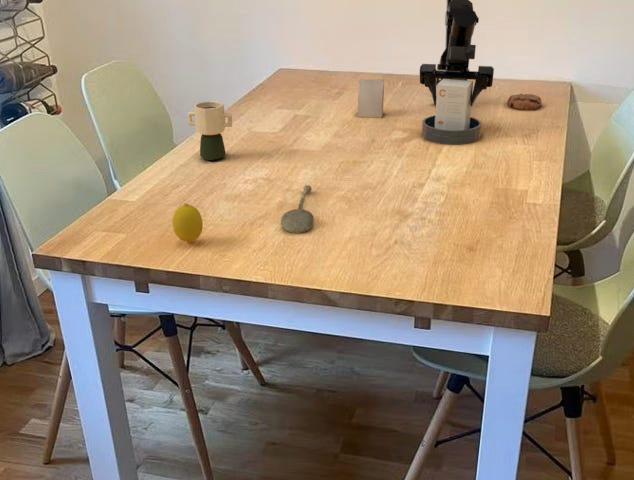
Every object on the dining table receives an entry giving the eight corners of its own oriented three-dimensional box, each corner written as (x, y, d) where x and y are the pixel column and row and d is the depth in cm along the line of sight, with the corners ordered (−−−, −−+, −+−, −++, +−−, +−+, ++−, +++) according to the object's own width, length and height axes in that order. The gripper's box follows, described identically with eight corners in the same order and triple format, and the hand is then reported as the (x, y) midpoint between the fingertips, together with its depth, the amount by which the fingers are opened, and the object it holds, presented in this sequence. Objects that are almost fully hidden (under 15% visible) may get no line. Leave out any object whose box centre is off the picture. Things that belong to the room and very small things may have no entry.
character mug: (238, 154, 191) (235, 101, 184) (230, 164, 185) (227, 109, 178) (196, 152, 193) (191, 100, 186) (187, 161, 187) (182, 108, 180)
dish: (410, 133, 205) (410, 120, 203) (453, 123, 212) (454, 111, 210) (448, 148, 194) (449, 134, 192) (492, 137, 201) (493, 124, 199)
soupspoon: (278, 235, 151) (311, 238, 150) (278, 220, 149) (311, 222, 149) (293, 190, 169) (323, 193, 169) (293, 176, 167) (323, 178, 167)
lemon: (176, 237, 149) (171, 198, 145) (204, 236, 149) (201, 197, 145) (174, 249, 144) (169, 210, 140) (203, 248, 145) (200, 208, 140)
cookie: (546, 103, 228) (548, 93, 227) (534, 112, 221) (536, 101, 219) (514, 99, 233) (515, 89, 231) (501, 107, 225) (502, 97, 224)
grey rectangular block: (381, 117, 218) (382, 81, 212) (357, 116, 219) (358, 80, 214) (383, 113, 221) (384, 78, 216) (359, 112, 222) (360, 77, 217)
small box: (469, 130, 204) (473, 80, 197) (464, 137, 199) (468, 87, 192) (439, 127, 207) (442, 77, 200) (433, 134, 202) (436, 84, 195)
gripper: (422, 30, 195) (415, 86, 191) (497, 33, 191) (492, 89, 188) (423, 56, 205) (416, 109, 202) (494, 59, 202) (489, 112, 199)
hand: (453, 104), depth 197 cm, fingers open, 9 cm apart
